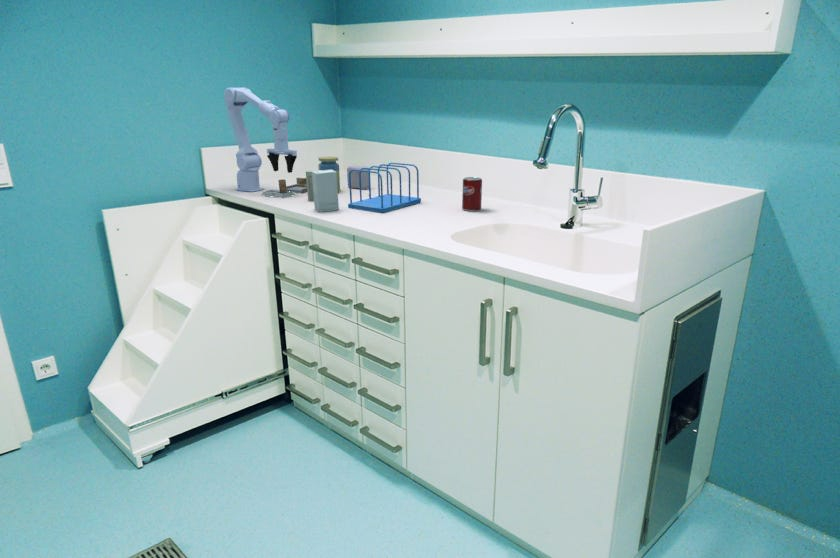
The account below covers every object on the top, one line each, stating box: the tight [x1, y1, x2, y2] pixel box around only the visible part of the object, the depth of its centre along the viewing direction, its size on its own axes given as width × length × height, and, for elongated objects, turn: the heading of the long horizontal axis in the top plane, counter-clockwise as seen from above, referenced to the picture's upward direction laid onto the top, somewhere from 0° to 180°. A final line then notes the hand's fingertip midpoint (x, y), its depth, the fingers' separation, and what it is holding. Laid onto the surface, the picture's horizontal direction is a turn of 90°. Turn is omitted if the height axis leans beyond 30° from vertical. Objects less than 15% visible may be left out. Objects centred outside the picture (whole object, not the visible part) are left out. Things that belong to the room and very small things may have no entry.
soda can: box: [461, 176, 483, 212], centre depth 223 cm, size 7×7×12 cm
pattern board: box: [286, 183, 307, 194], centre depth 266 cm, size 11×19×2 cm, turn 153°
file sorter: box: [347, 162, 422, 214], centre depth 230 cm, size 25×17×15 cm
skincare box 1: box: [305, 169, 323, 202], centre depth 240 cm, size 6×4×12 cm
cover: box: [295, 177, 307, 187], centre depth 269 cm, size 9×9×3 cm
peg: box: [278, 179, 287, 194], centre depth 249 cm, size 3×3×6 cm
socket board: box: [261, 189, 295, 199], centre depth 251 cm, size 12×7×2 cm, turn 63°
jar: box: [317, 156, 341, 193], centre depth 257 cm, size 9×9×15 cm
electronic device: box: [346, 164, 370, 190], centre depth 267 cm, size 10×5×10 cm, turn 58°
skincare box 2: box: [312, 170, 340, 213], centre depth 221 cm, size 8×6×15 cm
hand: (283, 171), depth 251 cm, fingers open, 7 cm apart
